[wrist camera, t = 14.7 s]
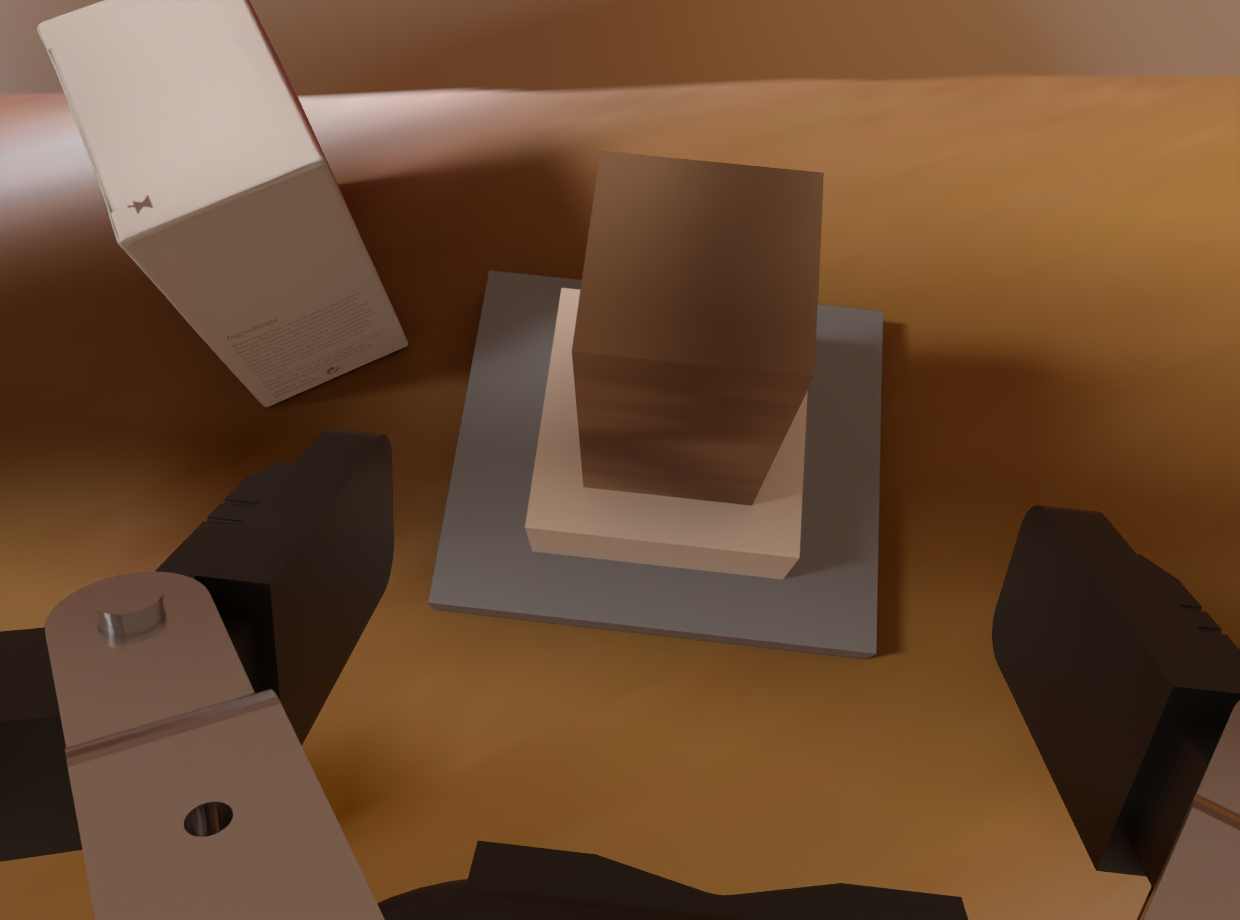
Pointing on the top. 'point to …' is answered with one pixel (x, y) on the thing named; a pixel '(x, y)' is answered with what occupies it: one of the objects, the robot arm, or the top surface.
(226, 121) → the small box
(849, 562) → the plate
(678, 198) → the walnut block
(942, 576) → the top surface
